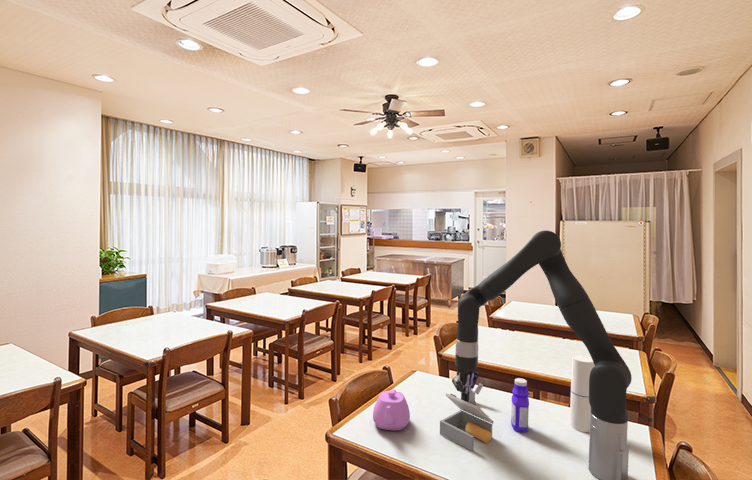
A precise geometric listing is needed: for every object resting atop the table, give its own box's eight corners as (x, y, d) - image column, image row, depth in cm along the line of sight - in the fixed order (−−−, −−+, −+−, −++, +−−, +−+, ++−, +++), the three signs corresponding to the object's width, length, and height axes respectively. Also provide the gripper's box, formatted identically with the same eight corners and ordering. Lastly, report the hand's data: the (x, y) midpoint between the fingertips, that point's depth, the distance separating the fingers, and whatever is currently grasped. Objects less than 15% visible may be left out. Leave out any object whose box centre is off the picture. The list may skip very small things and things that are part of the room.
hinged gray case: (492, 437, 128) (492, 424, 128) (471, 451, 120) (472, 437, 120) (460, 422, 137) (460, 410, 137) (439, 433, 130) (439, 421, 129)
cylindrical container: (569, 428, 134) (572, 359, 133) (569, 419, 140) (572, 353, 139) (592, 434, 131) (595, 363, 130) (591, 424, 137) (594, 357, 136)
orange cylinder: (489, 443, 125) (492, 433, 126) (484, 442, 123) (487, 431, 124) (469, 433, 132) (473, 423, 132) (464, 431, 129) (467, 421, 130)
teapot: (376, 410, 146) (376, 380, 145) (410, 413, 144) (411, 382, 143) (368, 438, 126) (368, 404, 125) (407, 442, 124) (408, 407, 124)
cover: (492, 424, 128) (494, 420, 128) (477, 409, 121) (479, 405, 122) (460, 409, 137) (462, 406, 138) (445, 395, 131) (447, 391, 131)
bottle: (529, 434, 130) (531, 385, 129) (512, 432, 131) (514, 383, 130) (525, 423, 137) (527, 376, 136) (509, 421, 138) (510, 375, 138)
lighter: (464, 402, 153) (464, 383, 153) (464, 400, 155) (464, 381, 154) (482, 404, 152) (482, 384, 151) (482, 402, 153) (482, 383, 153)
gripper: (468, 346, 135) (467, 393, 136) (445, 353, 127) (444, 404, 127) (487, 351, 130) (485, 400, 130) (464, 360, 121) (462, 412, 122)
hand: (464, 402), depth 129 cm, fingers closed
